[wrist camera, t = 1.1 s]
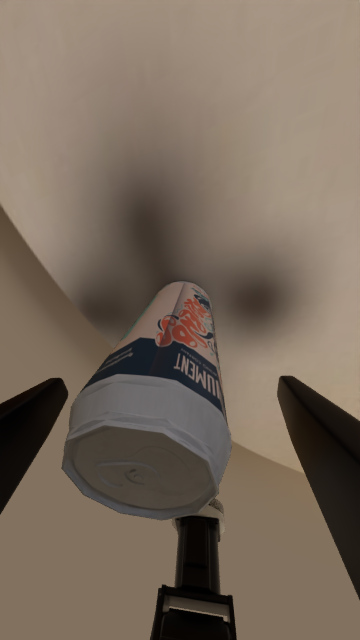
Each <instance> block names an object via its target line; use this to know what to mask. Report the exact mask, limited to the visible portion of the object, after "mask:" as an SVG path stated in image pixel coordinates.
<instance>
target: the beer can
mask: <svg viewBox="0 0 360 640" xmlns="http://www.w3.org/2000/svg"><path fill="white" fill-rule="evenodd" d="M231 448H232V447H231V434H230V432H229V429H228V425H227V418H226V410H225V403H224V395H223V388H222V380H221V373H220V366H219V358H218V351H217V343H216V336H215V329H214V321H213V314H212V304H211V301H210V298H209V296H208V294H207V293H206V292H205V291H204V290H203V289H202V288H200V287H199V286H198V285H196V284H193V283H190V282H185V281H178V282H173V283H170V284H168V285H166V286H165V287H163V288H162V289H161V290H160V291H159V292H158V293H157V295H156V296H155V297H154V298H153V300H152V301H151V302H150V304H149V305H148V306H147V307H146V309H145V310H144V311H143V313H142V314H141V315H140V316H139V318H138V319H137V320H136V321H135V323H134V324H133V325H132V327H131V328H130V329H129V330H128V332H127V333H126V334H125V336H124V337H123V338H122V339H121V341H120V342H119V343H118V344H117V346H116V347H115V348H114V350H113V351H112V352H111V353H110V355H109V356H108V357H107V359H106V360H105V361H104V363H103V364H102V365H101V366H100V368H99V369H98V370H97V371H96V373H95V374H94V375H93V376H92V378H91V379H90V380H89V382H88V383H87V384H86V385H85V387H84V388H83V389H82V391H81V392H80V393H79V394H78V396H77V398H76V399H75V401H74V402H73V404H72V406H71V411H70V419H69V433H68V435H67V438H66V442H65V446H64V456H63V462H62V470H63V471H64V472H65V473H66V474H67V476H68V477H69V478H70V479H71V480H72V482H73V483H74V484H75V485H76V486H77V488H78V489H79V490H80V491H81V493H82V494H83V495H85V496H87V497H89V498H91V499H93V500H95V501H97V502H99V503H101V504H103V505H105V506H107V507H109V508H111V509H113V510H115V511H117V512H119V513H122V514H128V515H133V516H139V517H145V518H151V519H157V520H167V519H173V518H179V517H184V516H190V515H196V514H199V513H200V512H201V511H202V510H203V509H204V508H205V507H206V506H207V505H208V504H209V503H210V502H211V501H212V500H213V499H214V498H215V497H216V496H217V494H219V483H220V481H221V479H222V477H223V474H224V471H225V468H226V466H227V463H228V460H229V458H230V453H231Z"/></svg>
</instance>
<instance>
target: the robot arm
mask: <svg viewBox="0 0 360 640" xmlns="http://www.w3.org/2000/svg"><path fill="white" fill-rule="evenodd" d="M277 397H278V401H279V404H280V407H281V410H282V413H283V416H284V420H285V423H286V426H287V429H288V432H289V435H290V438H291V441H292V444H293V446H294V449H295V451H296V453H297V456H298V458H299V460H300V463H301V465H302V467H303V470H304V472H305V474H306V477H307V479H308V481H309V483H310V486H311V488H312V490H313V493H314V495H315V497H316V500H317V502H318V504H319V507H320V509H321V511H322V514H323V516H324V518H325V521H326V523H327V525H328V528H329V530H330V532H331V534H332V537H333V539H334V542H335V544H336V546H337V548H338V551H339V553H340V555H341V558H342V560H343V562H344V565H345V567H346V569H347V572H348V574H349V576H350V579H351V581H352V583H353V585H354V588H355V590H356V592H357V595H358V597H359V599H360V421H359V420H358V419H356V418H355V417H353V416H352V415H350V414H349V413H347V412H346V411H344V410H343V409H341V408H340V407H338V406H337V405H335V404H334V403H332V402H331V401H329V400H328V399H326V398H325V397H323V396H322V395H320V394H319V393H317V392H316V391H314V390H313V389H311V388H310V387H308V386H307V385H305V384H304V383H302V382H301V381H299V380H298V379H296V378H295V377H293V376H280V378H279V383H278V391H277ZM67 398H68V390H67V388H66V386H65V384H64V382H63V380H62V379H61V378H50V379H48V380H46V381H44V382H42V383H40V384H38V385H37V386H34V387H33V388H30V389H29V390H27V391H25V392H23V393H21V394H19V395H17V396H15V397H13V398H11V399H9V400H7V401H5V402H3V403H1V404H0V514H1V512H2V511H3V509H4V507H5V506H6V504H7V503H8V501H9V499H10V498H11V496H12V494H13V493H14V491H15V490H16V488H17V486H18V485H19V483H20V481H21V480H22V478H23V476H24V474H25V473H26V471H27V470H28V468H29V466H30V465H31V463H32V462H33V460H34V458H35V457H36V455H37V453H38V452H39V450H40V448H41V447H42V445H43V443H44V442H45V440H46V438H47V437H48V435H49V433H50V431H51V429H52V427H53V425H54V424H55V422H56V420H57V417H58V416H59V414H60V412H61V410H62V408H63V406H64V404H65V402H66V400H67ZM175 523H176V527H177V531H178V548H177V561H176V574H175V587H168V586H166V585H162V588H159V589H158V598H157V605H156V612H155V617H154V622H153V628H152V632H151V637H150V640H237V639H236V628H235V617H234V607H233V598H232V595H228V596H225V595H220V579H219V577H220V576H219V559H218V542H220V522H219V519H218V518H214V517H203V516H192V515H190V516H184V517H179V518H175ZM169 606H173V607H179V608H184V609H190V610H196V611H202V612H209V613H214V614H220V615H225V616H227V617H228V622H225V621H224V620H223V617H219V616H213V615H208V614H202V613H196V612H190V611H184V610H179V609H173V608H169Z"/></svg>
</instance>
